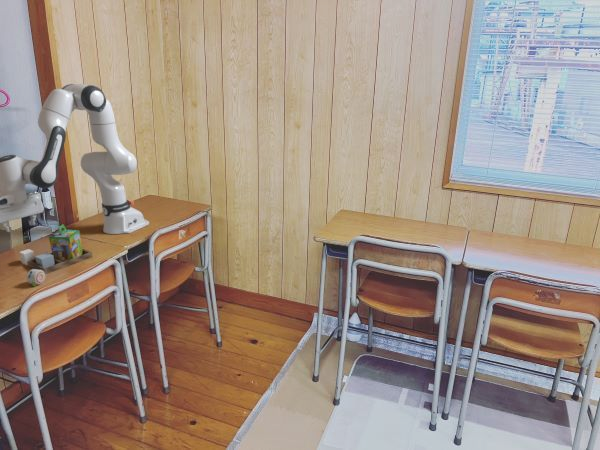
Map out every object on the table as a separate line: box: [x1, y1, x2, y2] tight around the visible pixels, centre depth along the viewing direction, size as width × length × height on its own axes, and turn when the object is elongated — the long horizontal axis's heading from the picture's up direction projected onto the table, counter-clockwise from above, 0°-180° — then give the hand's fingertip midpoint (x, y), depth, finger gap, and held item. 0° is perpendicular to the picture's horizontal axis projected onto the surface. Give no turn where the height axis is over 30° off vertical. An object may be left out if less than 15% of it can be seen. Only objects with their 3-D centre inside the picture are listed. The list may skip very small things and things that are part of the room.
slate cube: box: [34, 252, 55, 268], centre depth 206 cm, size 5×5×5 cm
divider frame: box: [27, 248, 93, 275], centre depth 211 cm, size 21×14×2 cm, turn 144°
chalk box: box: [48, 224, 84, 262], centre depth 211 cm, size 9×9×15 cm
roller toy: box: [26, 268, 46, 287], centre depth 191 cm, size 4×6×6 cm
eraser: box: [18, 248, 36, 266], centre depth 210 cm, size 4×4×5 cm
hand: (20, 228), depth 205 cm, fingers open, 8 cm apart
